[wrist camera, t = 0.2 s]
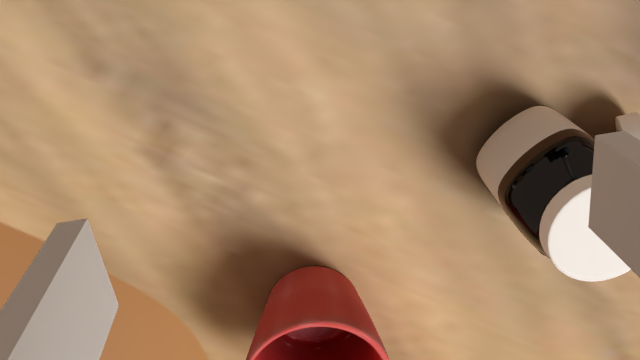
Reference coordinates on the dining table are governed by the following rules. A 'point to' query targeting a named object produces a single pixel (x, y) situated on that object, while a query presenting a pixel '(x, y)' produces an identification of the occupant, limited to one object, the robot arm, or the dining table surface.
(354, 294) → the flower pot
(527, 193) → the spread jar
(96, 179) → the dining table surface
